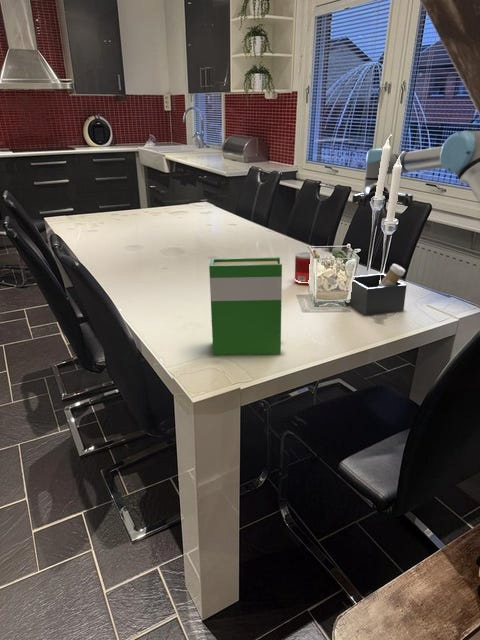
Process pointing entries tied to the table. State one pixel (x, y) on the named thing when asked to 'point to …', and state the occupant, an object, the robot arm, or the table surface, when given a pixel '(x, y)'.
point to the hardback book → (246, 305)
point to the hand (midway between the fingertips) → (385, 202)
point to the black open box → (376, 295)
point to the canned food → (302, 267)
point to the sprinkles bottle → (392, 276)
